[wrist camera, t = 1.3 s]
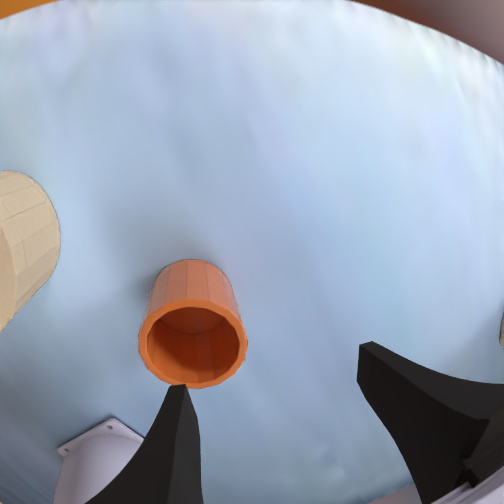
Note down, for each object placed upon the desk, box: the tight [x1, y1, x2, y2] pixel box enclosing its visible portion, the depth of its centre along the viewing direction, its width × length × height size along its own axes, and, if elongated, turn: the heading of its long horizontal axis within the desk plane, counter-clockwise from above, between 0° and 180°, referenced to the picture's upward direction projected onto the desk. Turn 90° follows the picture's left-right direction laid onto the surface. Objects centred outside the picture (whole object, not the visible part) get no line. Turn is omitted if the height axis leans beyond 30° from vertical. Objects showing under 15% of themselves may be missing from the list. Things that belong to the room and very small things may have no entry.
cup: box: [139, 259, 248, 389], centre depth 17 cm, size 5×5×6 cm
